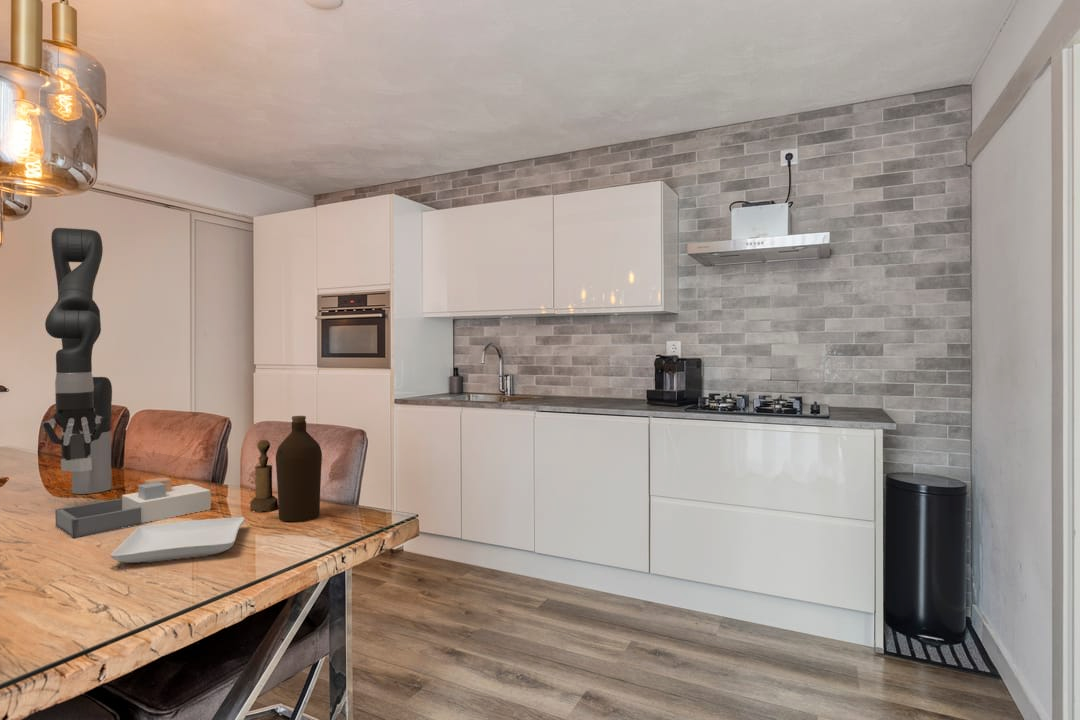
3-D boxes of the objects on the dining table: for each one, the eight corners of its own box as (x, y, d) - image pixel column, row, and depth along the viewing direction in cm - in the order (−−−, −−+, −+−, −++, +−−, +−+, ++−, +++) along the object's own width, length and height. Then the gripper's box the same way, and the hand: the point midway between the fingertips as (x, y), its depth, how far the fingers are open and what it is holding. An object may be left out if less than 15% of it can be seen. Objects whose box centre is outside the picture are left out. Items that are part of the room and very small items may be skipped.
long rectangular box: (122, 514, 149) (122, 495, 149) (191, 502, 161) (191, 483, 161) (139, 523, 141) (139, 502, 141) (210, 509, 154) (210, 490, 154)
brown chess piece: (244, 510, 153) (243, 441, 153) (264, 504, 159) (264, 437, 159) (263, 513, 150) (263, 442, 150) (283, 507, 156) (283, 439, 156)
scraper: (60, 471, 154) (57, 436, 154) (74, 469, 156) (72, 434, 156) (78, 471, 144) (76, 434, 144) (93, 469, 146) (91, 433, 147)
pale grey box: (138, 497, 147) (138, 485, 146) (158, 493, 150) (158, 482, 150) (145, 500, 144) (144, 487, 144) (165, 496, 147) (165, 484, 147)
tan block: (144, 491, 152) (144, 480, 152) (164, 488, 156) (164, 477, 155) (151, 494, 149) (151, 482, 149) (171, 491, 153) (171, 479, 153)
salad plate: (138, 539, 131) (138, 523, 131) (245, 529, 139) (245, 514, 139) (107, 573, 111) (107, 555, 111) (234, 559, 119) (234, 542, 119)
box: (55, 526, 139) (55, 509, 139) (120, 514, 149) (120, 498, 149) (73, 538, 131) (72, 520, 130) (141, 524, 141) (140, 507, 141)
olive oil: (309, 524, 142) (309, 419, 141) (267, 522, 143) (266, 418, 142) (329, 511, 152) (329, 414, 152) (290, 510, 153) (289, 413, 153)
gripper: (103, 387, 157) (104, 452, 157) (34, 391, 146) (36, 461, 146) (113, 389, 152) (114, 456, 153) (43, 393, 141) (44, 465, 142)
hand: (76, 458), depth 150 cm, fingers closed on scraper, 3 cm apart
